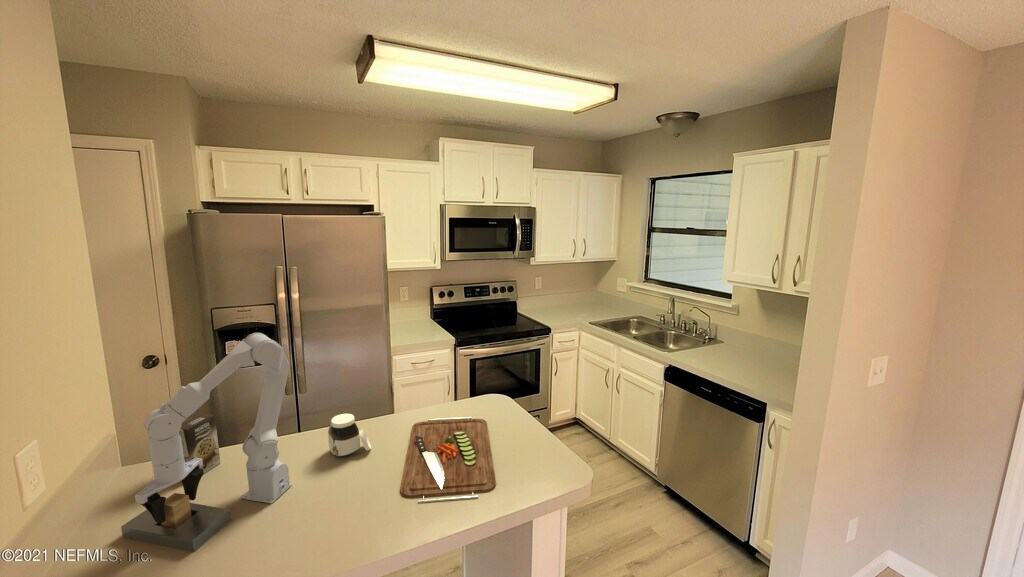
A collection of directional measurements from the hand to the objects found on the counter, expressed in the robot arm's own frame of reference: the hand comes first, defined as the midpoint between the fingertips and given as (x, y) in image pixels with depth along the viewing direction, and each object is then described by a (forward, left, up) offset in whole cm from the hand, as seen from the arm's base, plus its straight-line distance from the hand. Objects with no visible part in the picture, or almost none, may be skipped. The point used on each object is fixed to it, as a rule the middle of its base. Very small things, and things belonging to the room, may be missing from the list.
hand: (176, 509), depth 100 cm
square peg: (0, 0, -5) cm, 5 cm away
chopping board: (-53, -44, -6) cm, 70 cm away
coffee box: (+16, -20, -5) cm, 26 cm away
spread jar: (-22, -39, -5) cm, 45 cm away
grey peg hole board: (0, 0, -5) cm, 5 cm away
